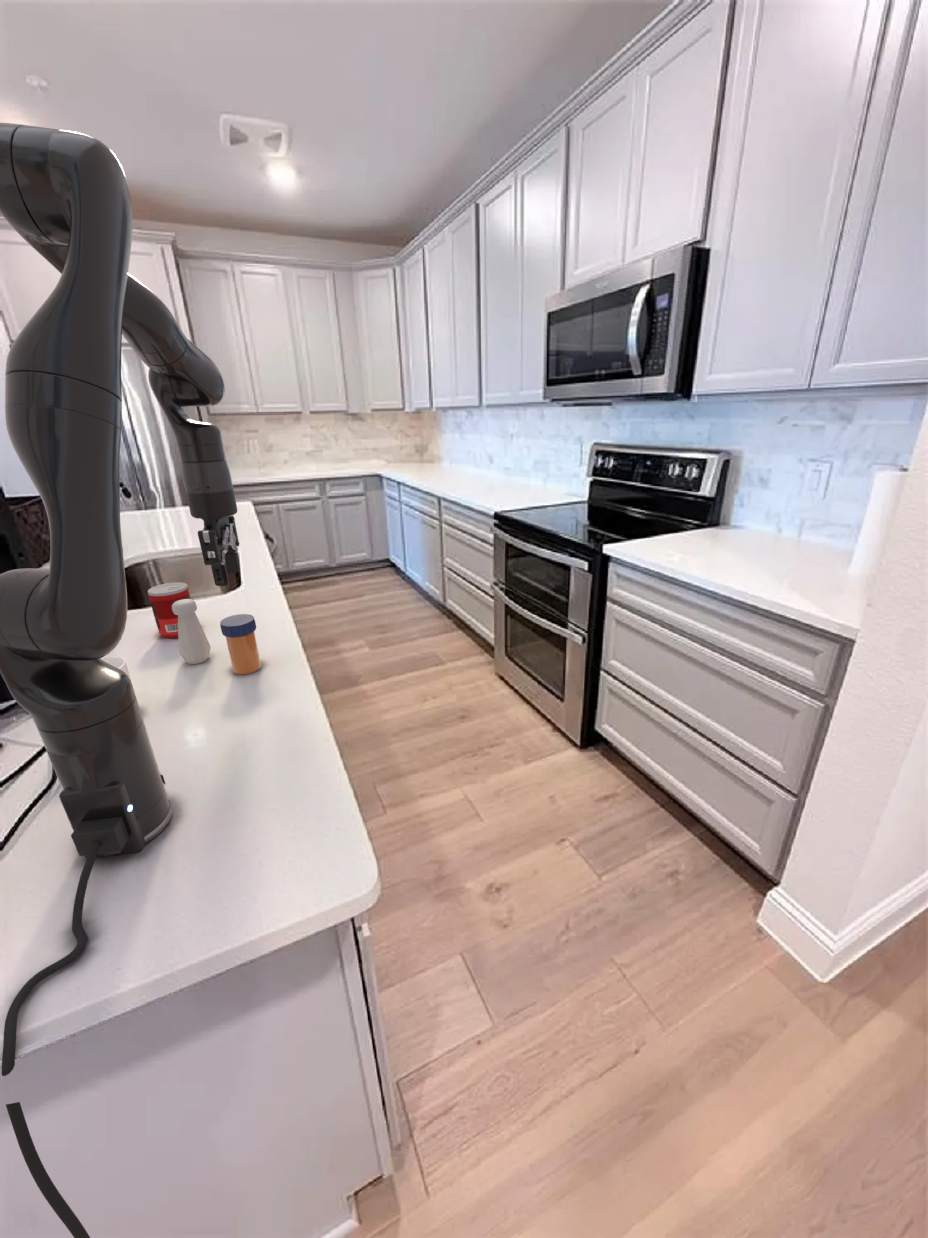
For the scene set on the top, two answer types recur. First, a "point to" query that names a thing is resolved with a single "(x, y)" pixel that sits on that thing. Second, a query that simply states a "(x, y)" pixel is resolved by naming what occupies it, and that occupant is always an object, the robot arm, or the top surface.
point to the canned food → (167, 606)
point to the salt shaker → (190, 633)
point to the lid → (238, 625)
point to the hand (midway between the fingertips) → (228, 578)
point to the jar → (244, 653)
